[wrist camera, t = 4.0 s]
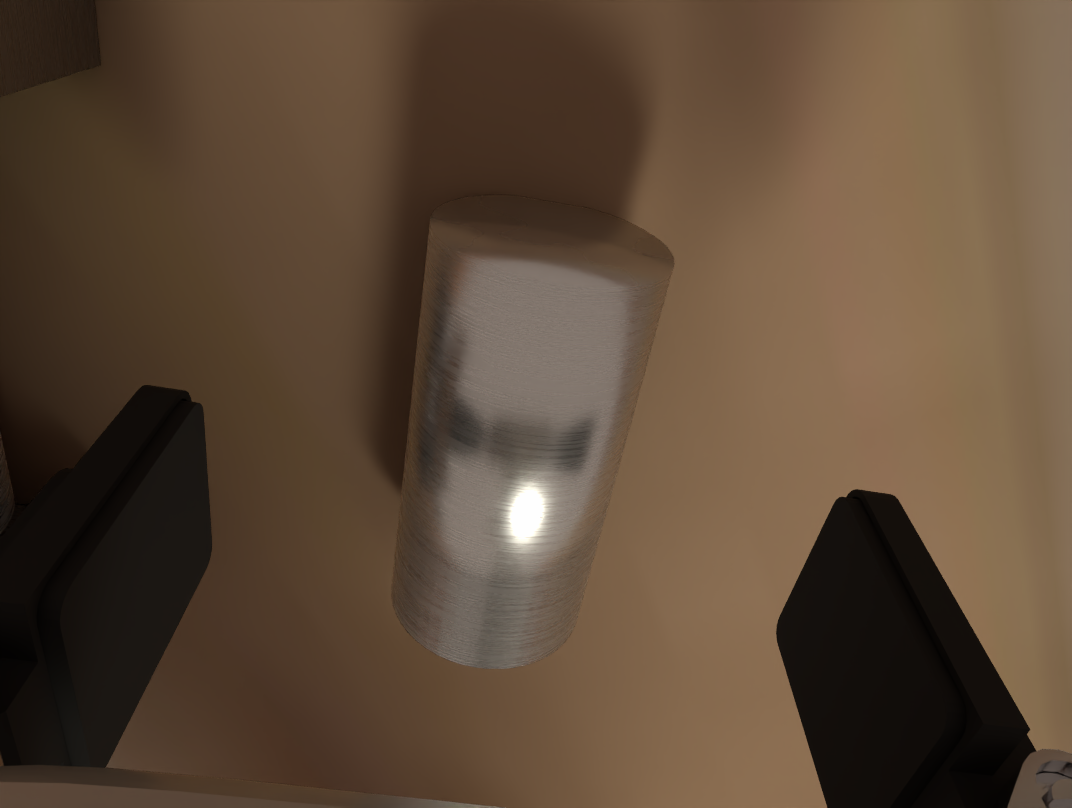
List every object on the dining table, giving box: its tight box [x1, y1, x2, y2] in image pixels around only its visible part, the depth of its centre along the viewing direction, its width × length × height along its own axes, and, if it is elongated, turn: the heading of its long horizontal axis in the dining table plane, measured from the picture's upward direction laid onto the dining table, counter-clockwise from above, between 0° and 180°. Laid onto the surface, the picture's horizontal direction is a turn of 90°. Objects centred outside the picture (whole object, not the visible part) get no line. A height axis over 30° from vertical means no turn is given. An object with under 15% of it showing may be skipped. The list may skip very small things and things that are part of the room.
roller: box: [391, 195, 674, 669], centre depth 15 cm, size 4×8×4 cm, turn 170°
